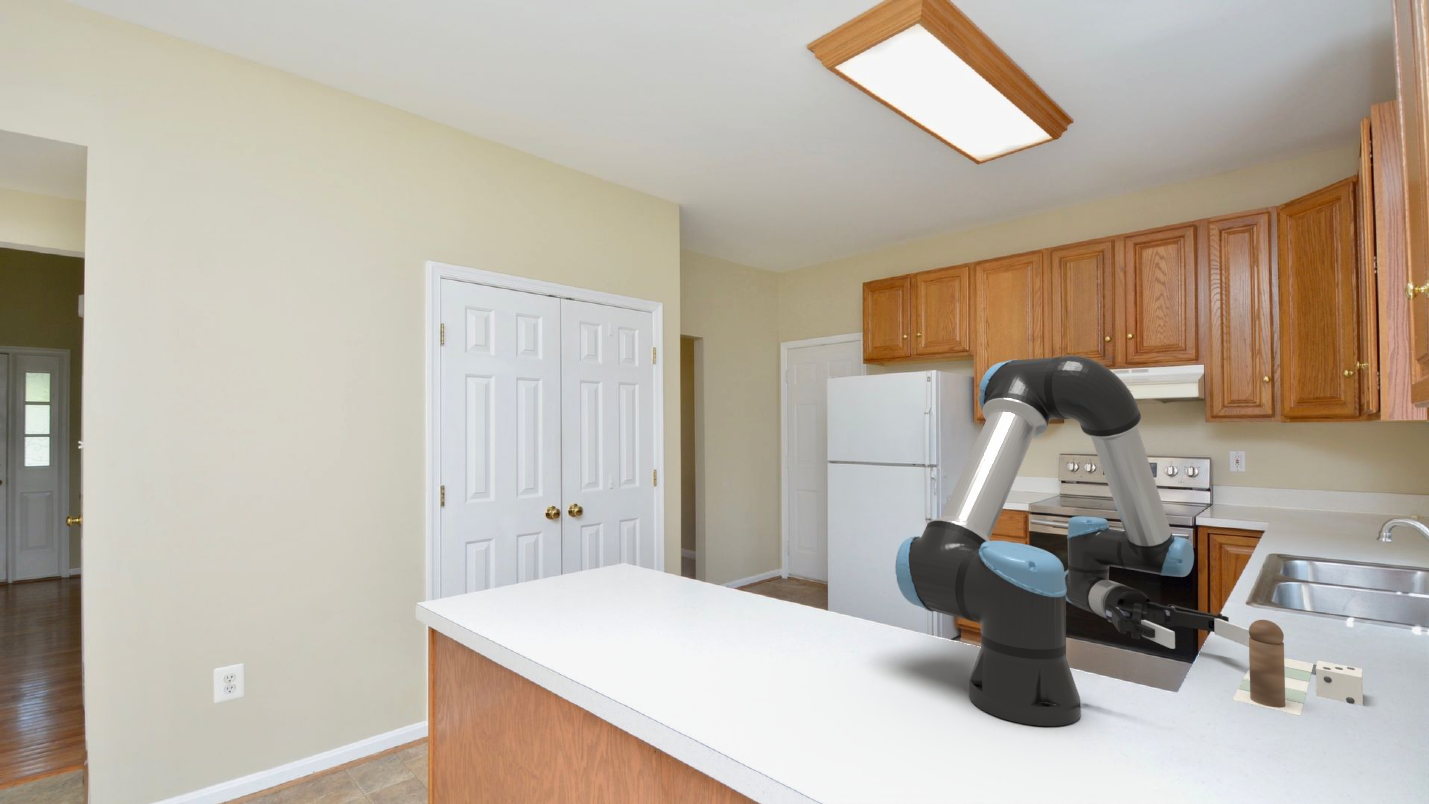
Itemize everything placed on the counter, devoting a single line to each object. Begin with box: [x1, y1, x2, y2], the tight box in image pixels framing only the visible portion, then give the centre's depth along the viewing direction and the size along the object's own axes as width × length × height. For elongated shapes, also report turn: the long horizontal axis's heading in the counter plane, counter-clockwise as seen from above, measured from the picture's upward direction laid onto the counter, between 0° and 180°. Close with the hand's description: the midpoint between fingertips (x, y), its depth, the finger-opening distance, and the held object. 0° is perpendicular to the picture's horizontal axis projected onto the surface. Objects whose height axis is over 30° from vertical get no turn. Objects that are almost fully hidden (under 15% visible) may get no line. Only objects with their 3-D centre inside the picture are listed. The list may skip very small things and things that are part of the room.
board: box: [1232, 657, 1317, 717], centre depth 106 cm, size 8×30×1 cm, turn 135°
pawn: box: [1248, 619, 1285, 707], centre depth 98 cm, size 4×4×12 cm
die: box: [1315, 660, 1364, 707], centre depth 100 cm, size 5×5×5 cm
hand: (1211, 639), depth 107 cm, fingers open, 13 cm apart
